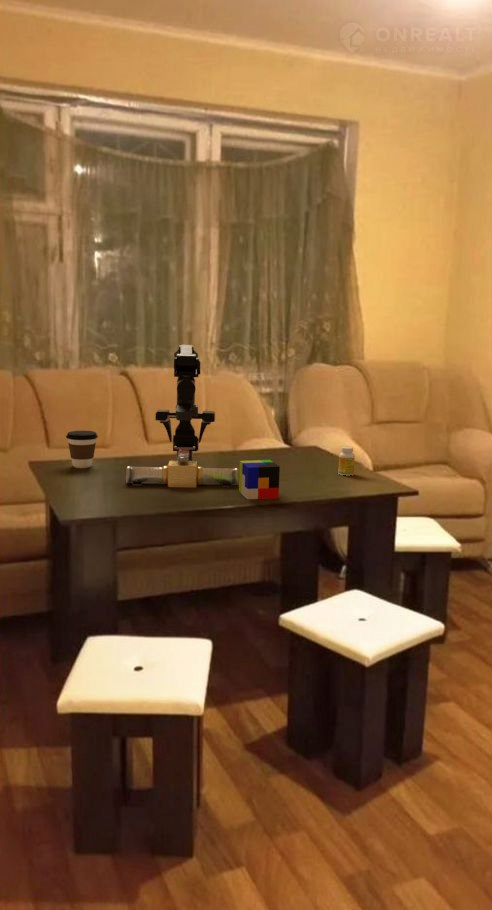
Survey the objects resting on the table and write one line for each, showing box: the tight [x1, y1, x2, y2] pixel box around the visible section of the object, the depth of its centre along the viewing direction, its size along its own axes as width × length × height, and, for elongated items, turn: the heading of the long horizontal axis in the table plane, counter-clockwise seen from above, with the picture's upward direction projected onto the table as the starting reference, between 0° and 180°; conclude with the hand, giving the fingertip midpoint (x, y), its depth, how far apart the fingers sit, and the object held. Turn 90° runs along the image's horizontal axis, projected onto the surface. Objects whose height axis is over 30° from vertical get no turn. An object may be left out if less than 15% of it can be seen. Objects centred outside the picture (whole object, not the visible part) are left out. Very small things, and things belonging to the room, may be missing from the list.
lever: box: [176, 449, 189, 463], centre depth 262 cm, size 15×4×2 cm, turn 3°
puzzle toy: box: [238, 459, 281, 500], centre depth 247 cm, size 10×10×10 cm
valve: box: [125, 460, 239, 488], centre depth 258 cm, size 8×36×7 cm, turn 93°
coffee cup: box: [65, 430, 99, 469], centre depth 280 cm, size 11×11×12 cm
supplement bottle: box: [337, 446, 356, 477], centre depth 279 cm, size 5×5×10 cm
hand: (185, 442), depth 255 cm, fingers open, 9 cm apart
